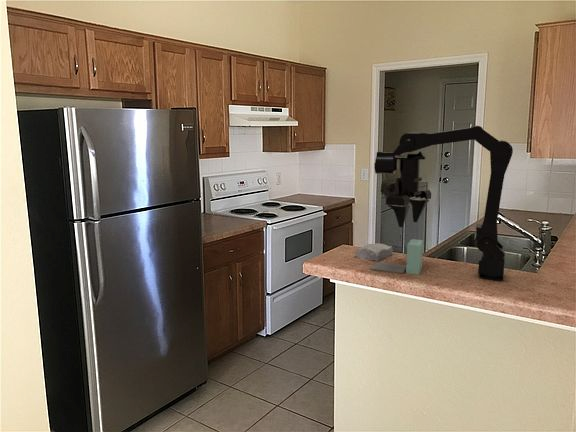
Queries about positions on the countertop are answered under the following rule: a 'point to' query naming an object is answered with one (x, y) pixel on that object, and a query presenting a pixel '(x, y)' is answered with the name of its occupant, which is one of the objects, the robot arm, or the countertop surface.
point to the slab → (414, 256)
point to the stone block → (374, 252)
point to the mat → (389, 267)
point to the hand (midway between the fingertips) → (408, 224)
